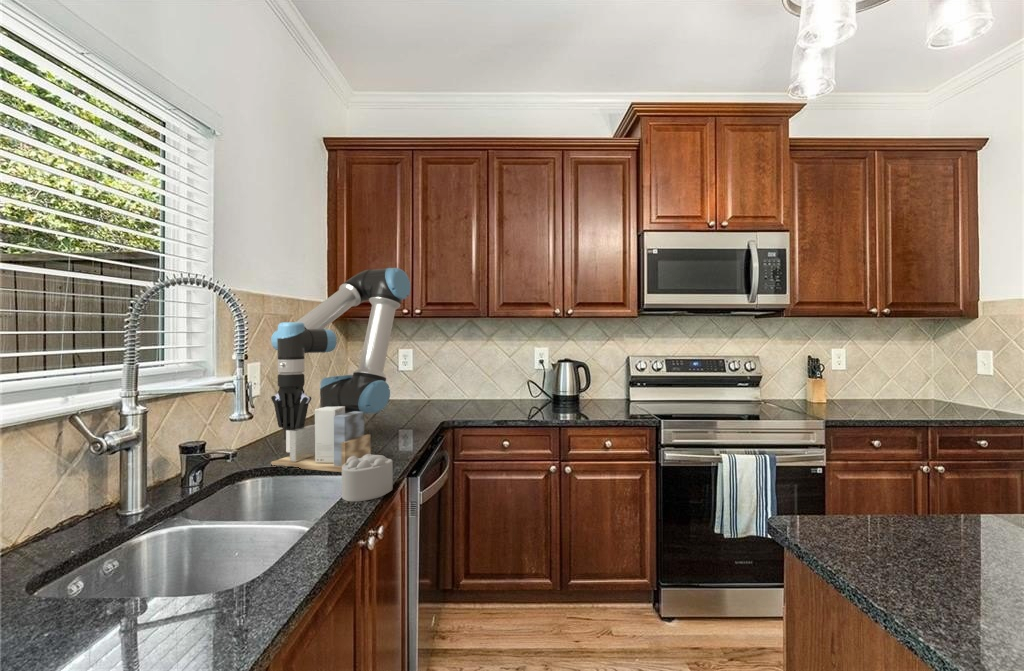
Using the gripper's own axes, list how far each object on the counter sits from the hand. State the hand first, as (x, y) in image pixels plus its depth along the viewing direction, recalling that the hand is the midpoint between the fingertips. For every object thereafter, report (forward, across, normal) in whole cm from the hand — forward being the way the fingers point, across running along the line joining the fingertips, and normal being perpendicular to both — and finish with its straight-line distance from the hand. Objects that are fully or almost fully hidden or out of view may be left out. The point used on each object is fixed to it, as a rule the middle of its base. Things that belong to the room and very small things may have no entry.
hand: (291, 451), depth 159 cm
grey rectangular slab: (+2, +5, 0) cm, 5 cm away
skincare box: (+2, +14, 0) cm, 14 cm away
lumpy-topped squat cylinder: (+3, +39, -21) cm, 44 cm away
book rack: (+3, +11, 0) cm, 11 cm away
